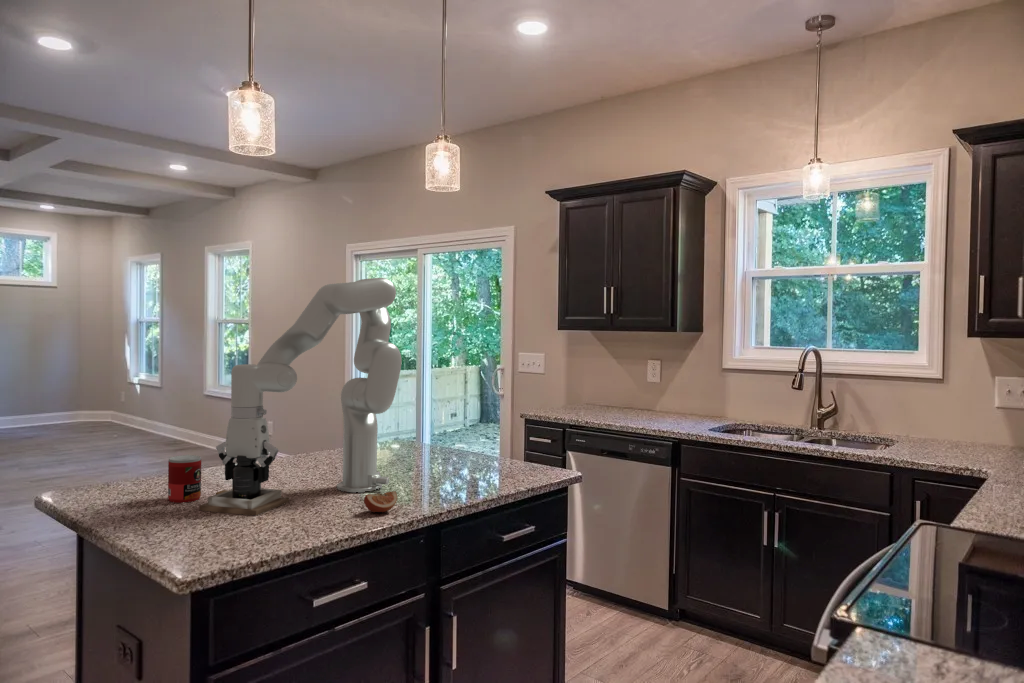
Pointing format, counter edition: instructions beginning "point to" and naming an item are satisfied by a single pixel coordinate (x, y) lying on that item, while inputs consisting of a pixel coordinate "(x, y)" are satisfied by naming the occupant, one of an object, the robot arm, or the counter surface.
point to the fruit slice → (380, 501)
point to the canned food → (184, 478)
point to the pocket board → (244, 502)
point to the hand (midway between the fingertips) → (246, 480)
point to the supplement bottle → (245, 479)
